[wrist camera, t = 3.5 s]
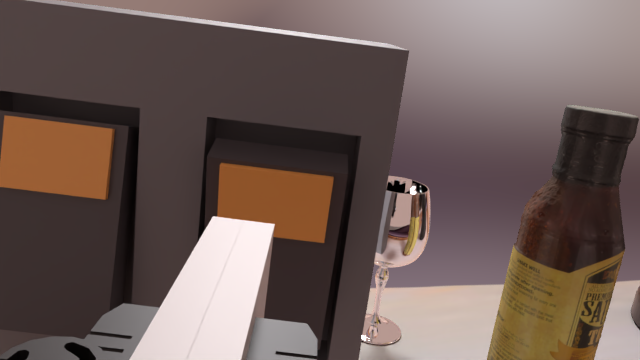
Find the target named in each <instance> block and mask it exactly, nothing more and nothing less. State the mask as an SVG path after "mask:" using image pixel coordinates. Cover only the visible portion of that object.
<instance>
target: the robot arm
mask: <svg viewBox="0 0 640 360" xmlns="http://www.w3.org/2000/svg"><path fill="white" fill-rule="evenodd" d="M274 226H275V224H270V223H262V222H254V221H246V220H238V219H231V218H223V217H215V216H213V217H212V219H211V221H210V222H209V224H208V226H207V227H206V229H205V231H204V233H203V234H202V236H201V238H200V239H199V241H198V243H197V245H196V246H195V248H194V250H193V251H192V253H191V255H190V257H189V258H188V260H187V262H186V263H185V265H184V267H183V269H182V270H181V272H180V274H179V275H178V277H177V279H176V281H175V282H174V284H173V286H172V288H171V289H170V291H169V293H168V294H167V296H166V298H165V300H164V301H163V303H162V305H161V306H160V308H158V307H150V306H142V305H134V304H125V303H123V304H122V305H120V306H118V307H116V308H115V309H113V310H111V311H109V312H108V313H106V314H104V315H102V317H101V318H100V319H99V321H98V322H97V323H96V325H95V326H94V327H93V328H92V330H91V332H90V334H88V335H87V336H86V338H85V339H80V338H76V337H58V336H52V337H46V338H40V339H35V340H30V341H28V342H25V343H23V344H20V345H17V346H15V347H12V348H11V349H9V350H8V351H6V352H5V353H4V354H2V355H1V356H0V360H317V338H316V336H315V335H314V333H313V332H312V330H311V329H310V327H309V326H308V324H307V323H298V322H290V321H282V320H274V319H265V318H264V312H265V304H266V295H267V286H268V278H269V269H270V261H271V252H272V244H273V235H274ZM631 315H632V318H633V320H634V321H635V323H636V324H637V325H638V326H639V328H640V286H639V288H638V290H637V292H636V295H635V298H634V302H633V305H632V308H631Z"/></svg>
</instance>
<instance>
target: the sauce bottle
mask: <svg viewBox="0 0 640 360" xmlns="http://www.w3.org/2000/svg"><path fill="white" fill-rule="evenodd" d="M638 121H639V119H638V117H637V116H635V115H630V114H626V113H623V112H617V111H611V110H605V109H598V108H591V107H583V106H575V105H568V106H567V107H566V108H565V112H564V115H563V119H562V123H561V132H562V137H561V142H560V146H559V150H558V154H557V158H556V162H555V164H553V166H552V167H553V168H552V169H553V171H552V173H553V176H552V178H551V179H550V180H549V181H548V182H547V183H546V184H545V185H544V186H543V187H542V188H541V189H540V190H538V191H536V192H535V194H534V195H533V196H532V198H531V199H530V200H529V201H528V203H527V204H526V205H525V209H524V213H523V215H522V217H521V225H520V229H519V232H518V234H519V235H518V238H517V242H516V243H515V244H514V246H513V250H512V254H511V258H510V263H509V267H508V271H507V275H506V280H505V284H504V289H503V293H502V297H501V301H500V305H499V310H498V314H497V318H496V322H495V326H494V330H493V335H492V339H491V344H490V348H489V352H488V357H487V360H594V357H595V353H596V350H597V346H598V343H599V339H600V337H601V333H602V330H603V325H604V322H605V319H606V315H607V312H608V309H609V305H610V301H611V298H612V293H613V290H614V286H615V283H616V279H617V275H618V272H619V269H620V266H621V261H622V258H623V254H624V251H625V244H624V235H623V226H622V218H621V209H620V198H619V184H620V182H621V179H620V178H621V172H622V168H623V165H624V160H625V158H626V154H627V149H628V146H629V144H630V142H631V141H632V140H633V138H634V137H635V134H636V129H637V124H638Z"/></svg>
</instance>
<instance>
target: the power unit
mask: <svg viewBox="0 0 640 360" xmlns="http://www.w3.org/2000/svg"><path fill="white" fill-rule="evenodd" d="M408 54H409V51H408V50H406V49H403V48H400V47H397V46H393V45H391V44H386V43H378V42H371V41H363V40H355V39H347V38H340V37H332V36H325V35H317V34H309V33H302V32H294V31H286V30H279V29H271V28H264V27H256V26H248V25H241V24H233V23H226V22H218V21H210V20H203V19H195V18H187V17H180V16H172V15H165V14H157V13H149V12H142V11H133V10H126V9H119V8H111V7H103V6H96V5H88V4H80V3H72V2H65V1H57V0H0V110H3V111H12V112H21V113H29V114H37V115H45V116H53V117H61V118H69V119H76V120H84V121H92V122H100V123H108V124H116V125H124V126H132V127H139V146H138V166H137V176H136V185H135V194H134V204H133V213H132V223H131V232H130V241H129V251H128V260H127V269H126V279H125V288H124V298H123V303H125V304H134V305H142V306H150V307H158V308H160V306H161V305H162V303H163V301H164V300H165V298H166V296H167V294H168V293H169V291H170V289H171V288H172V286H173V284H174V282H175V281H176V279H177V277H178V275H179V274H180V272H181V270H182V269H183V267H184V265H185V263H186V262H187V260H188V258H189V257H190V255H191V253H192V251H193V250H194V248H195V246H196V245H197V243H198V241H199V239H200V238H201V236H202V234H203V233H204V231H205V202H206V172H207V156H208V154H209V152H210V150H211V148H212V146H213V144H214V142H215V140H216V138H221V139H229V140H236V141H244V142H252V143H260V144H268V145H276V146H284V147H292V148H300V149H308V150H316V151H324V152H332V153H340V154H348V179H347V185H346V191H345V197H344V204H343V210H342V216H341V222H340V228H339V234H338V240H337V247H336V253H335V259H334V265H333V271H332V277H331V283H330V289H329V296H328V302H327V308H326V314H325V320H324V326H323V332H322V339H321V345H320V350H318V349H317V360H358V358H359V352H360V346H361V340H362V334H363V328H364V322H365V316H366V310H367V303H368V297H369V291H370V285H371V279H372V273H373V267H374V261H375V255H376V249H377V243H378V237H379V231H380V224H381V218H382V212H383V206H384V200H385V194H386V188H387V182H388V176H389V170H390V163H391V157H392V152H393V145H394V139H395V133H396V127H397V121H398V115H399V108H400V102H401V97H402V91H403V85H404V79H405V72H406V66H407V60H408ZM46 337H52V335H44V334H35V333H26V332H18V331H9V330H1V329H0V356H1V355H2V354H4V353H5V352H6V351H8V350H9V349H11V348H12V347H15V346H17V345H20V344H23V343H25V342H28V341H30V340H35V339H40V338H46ZM58 337H61V336H58Z"/></svg>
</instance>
